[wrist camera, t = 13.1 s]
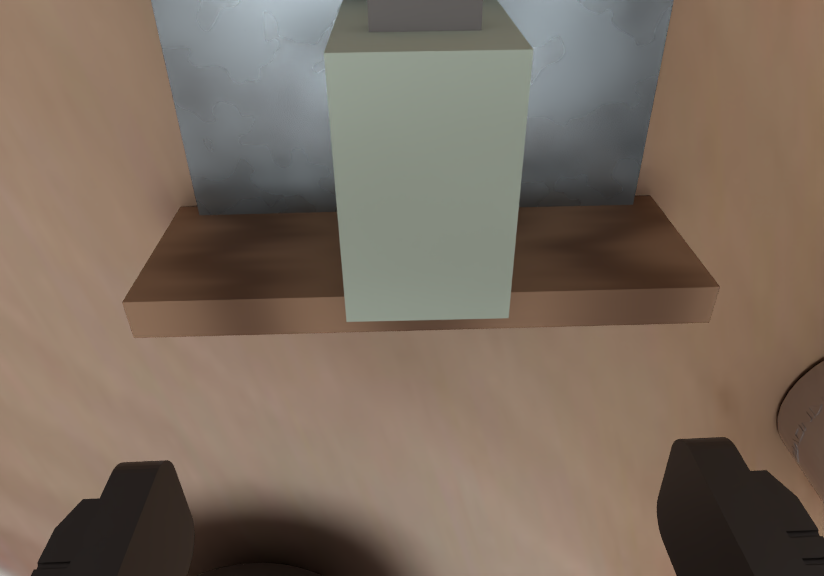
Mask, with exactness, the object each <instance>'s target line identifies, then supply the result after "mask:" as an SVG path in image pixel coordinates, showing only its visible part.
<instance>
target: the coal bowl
mask: <svg viewBox="0 0 824 576" xmlns="http://www.w3.org/2000/svg"><path fill="white" fill-rule="evenodd" d="M197 576H321V575H319V574H317V573H314V572H312V571H309V570H306V569H303V568H299V567H295V566H290V565H284V564H276V563H246V564H238V565H232V566H227V567H223V568H218V569H214V570H211V571H208V572H205V573H202V574H200V575H197Z"/></svg>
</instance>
